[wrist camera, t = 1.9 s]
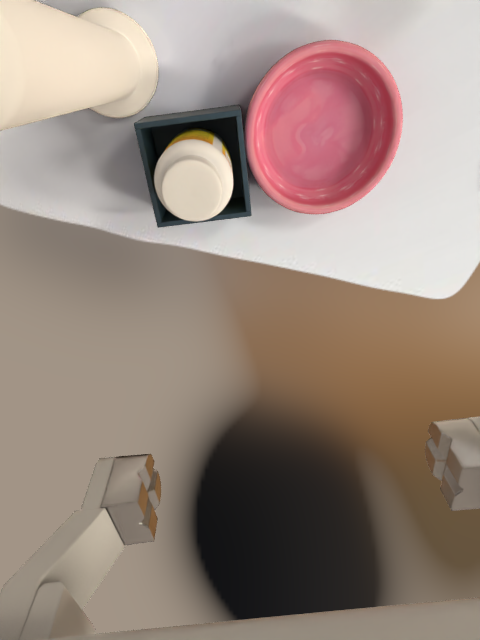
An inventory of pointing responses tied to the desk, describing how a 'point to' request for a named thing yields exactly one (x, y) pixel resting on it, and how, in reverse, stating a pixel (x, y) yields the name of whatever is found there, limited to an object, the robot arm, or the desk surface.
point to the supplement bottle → (194, 175)
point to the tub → (163, 128)
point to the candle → (71, 63)
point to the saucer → (323, 127)
